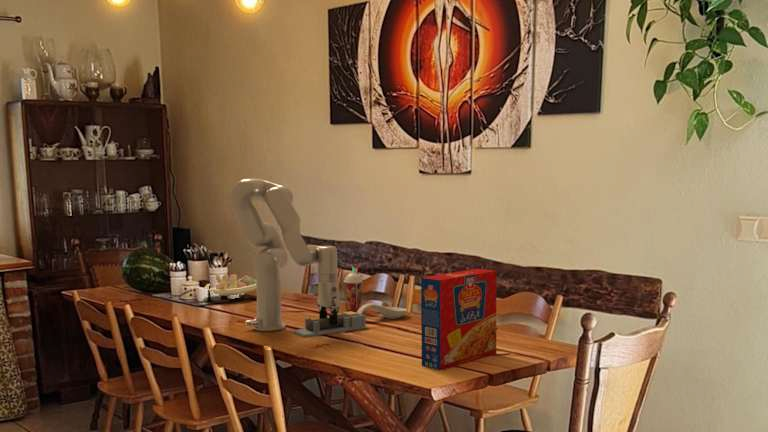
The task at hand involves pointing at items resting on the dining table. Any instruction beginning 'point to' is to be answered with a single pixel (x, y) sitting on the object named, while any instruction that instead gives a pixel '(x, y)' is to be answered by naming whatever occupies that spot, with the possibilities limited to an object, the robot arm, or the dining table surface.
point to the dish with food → (233, 285)
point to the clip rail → (355, 323)
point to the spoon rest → (385, 311)
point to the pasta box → (458, 317)
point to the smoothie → (353, 291)
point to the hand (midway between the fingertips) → (328, 322)
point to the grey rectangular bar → (326, 322)
